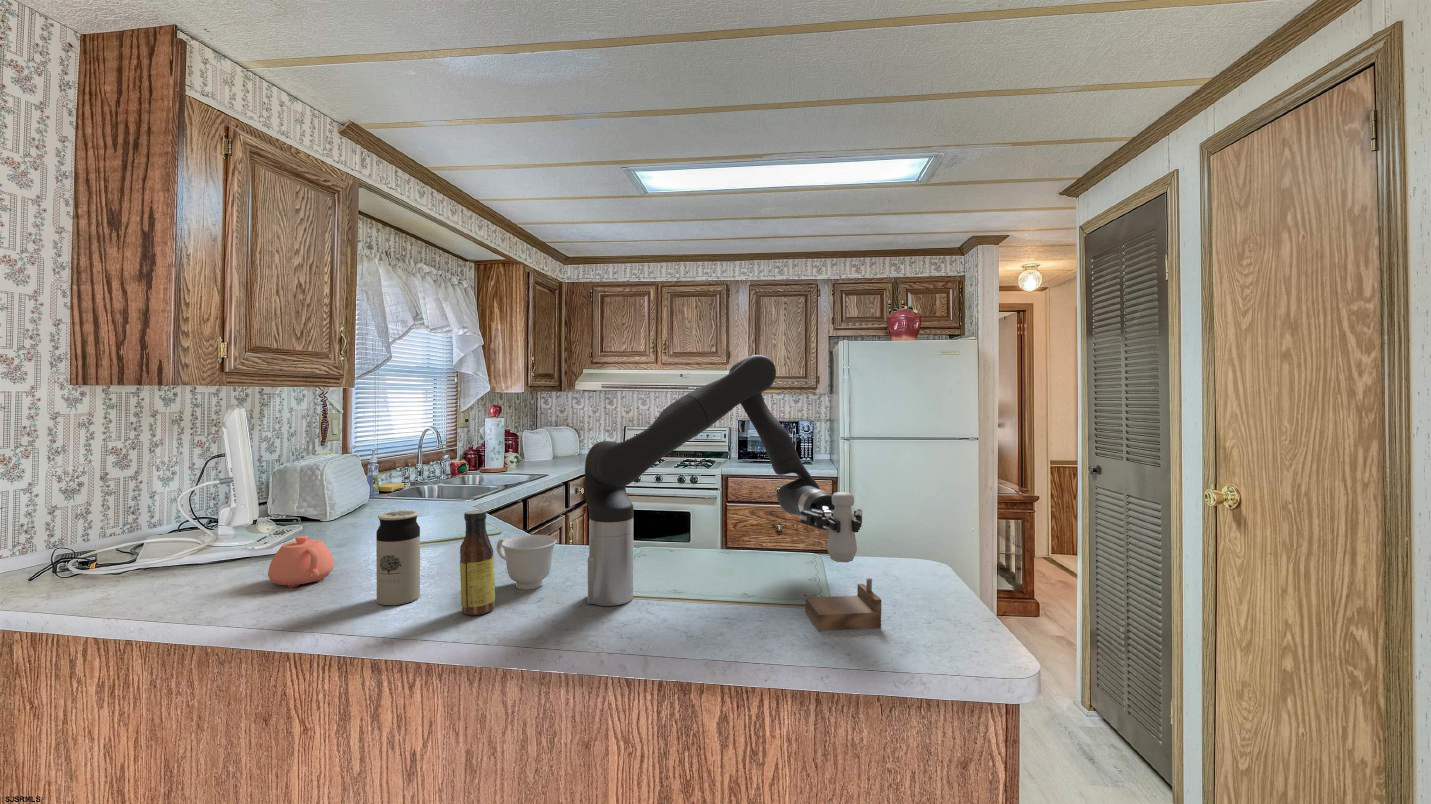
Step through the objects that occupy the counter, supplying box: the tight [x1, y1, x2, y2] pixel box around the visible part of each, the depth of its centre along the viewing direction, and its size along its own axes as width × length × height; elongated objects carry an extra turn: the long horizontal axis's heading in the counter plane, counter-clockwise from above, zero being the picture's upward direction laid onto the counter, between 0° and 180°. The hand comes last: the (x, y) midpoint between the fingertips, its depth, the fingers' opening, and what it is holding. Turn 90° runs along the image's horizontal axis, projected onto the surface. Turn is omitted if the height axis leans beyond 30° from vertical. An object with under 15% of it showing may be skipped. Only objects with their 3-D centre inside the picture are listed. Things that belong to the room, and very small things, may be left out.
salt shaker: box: [826, 491, 858, 563], centre depth 112 cm, size 6×6×13 cm
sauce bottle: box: [459, 509, 496, 616], centre depth 115 cm, size 7×6×20 cm
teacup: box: [496, 534, 558, 590], centre depth 130 cm, size 12×15×10 cm
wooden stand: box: [804, 577, 882, 632], centre depth 112 cm, size 12×9×8 cm
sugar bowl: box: [267, 535, 335, 588], centre depth 131 cm, size 12×14×10 cm
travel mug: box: [375, 509, 421, 606], centre depth 120 cm, size 8×8×18 cm
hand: (847, 527), depth 109 cm, fingers closed on salt shaker, 3 cm apart
